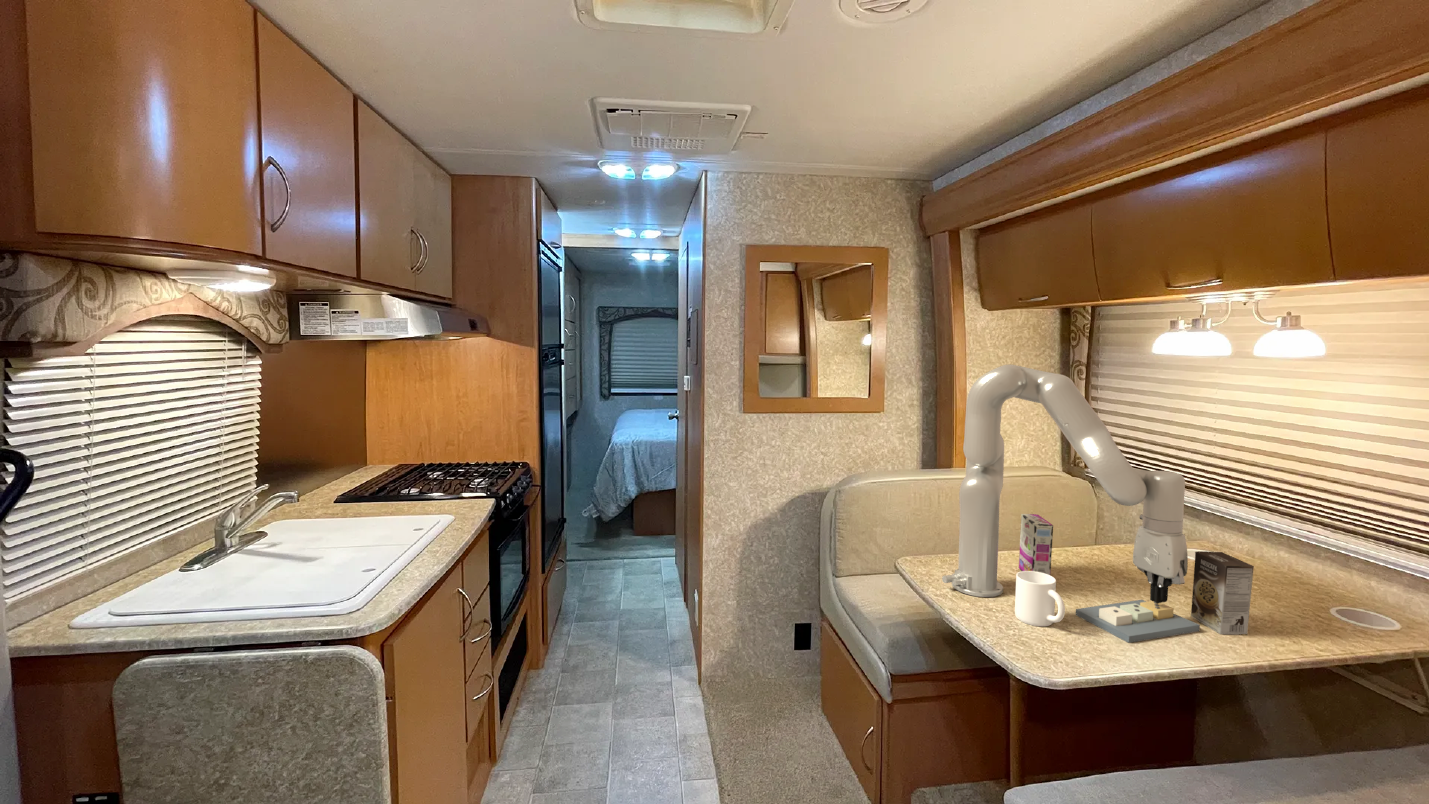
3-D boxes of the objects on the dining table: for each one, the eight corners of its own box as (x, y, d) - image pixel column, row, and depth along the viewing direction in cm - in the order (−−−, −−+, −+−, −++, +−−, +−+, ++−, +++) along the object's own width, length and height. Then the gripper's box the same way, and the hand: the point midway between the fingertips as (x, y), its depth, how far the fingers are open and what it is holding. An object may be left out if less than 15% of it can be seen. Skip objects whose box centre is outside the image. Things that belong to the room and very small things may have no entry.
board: (1128, 642, 131) (1129, 636, 131) (1075, 615, 145) (1075, 609, 144) (1199, 631, 136) (1199, 624, 136) (1141, 605, 150) (1141, 599, 149)
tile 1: (1116, 626, 136) (1116, 616, 136) (1098, 617, 140) (1099, 607, 140) (1131, 623, 137) (1132, 613, 137) (1114, 615, 141) (1114, 605, 141)
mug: (1076, 631, 137) (1078, 587, 136) (1048, 637, 134) (1050, 592, 133) (1033, 609, 148) (1035, 568, 147) (1006, 614, 145) (1008, 573, 144)
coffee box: (1189, 616, 143) (1193, 550, 142) (1216, 616, 143) (1221, 550, 142) (1219, 635, 134) (1225, 565, 133) (1249, 635, 134) (1255, 565, 133)
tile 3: (1157, 619, 139) (1158, 609, 139) (1139, 611, 143) (1140, 601, 143) (1173, 617, 140) (1173, 607, 140) (1154, 609, 144) (1155, 599, 144)
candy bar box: (1051, 584, 163) (1054, 525, 162) (1031, 583, 164) (1034, 524, 162) (1036, 568, 174) (1038, 513, 173) (1017, 568, 175) (1020, 512, 173)
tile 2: (1137, 623, 138) (1137, 612, 137) (1119, 614, 142) (1120, 604, 142) (1152, 620, 139) (1153, 610, 138) (1134, 612, 143) (1135, 602, 143)
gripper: (1120, 517, 146) (1117, 590, 148) (1181, 536, 131) (1177, 616, 133) (1144, 514, 148) (1141, 587, 149) (1208, 532, 133) (1203, 612, 135)
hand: (1158, 601), depth 141 cm, fingers closed
